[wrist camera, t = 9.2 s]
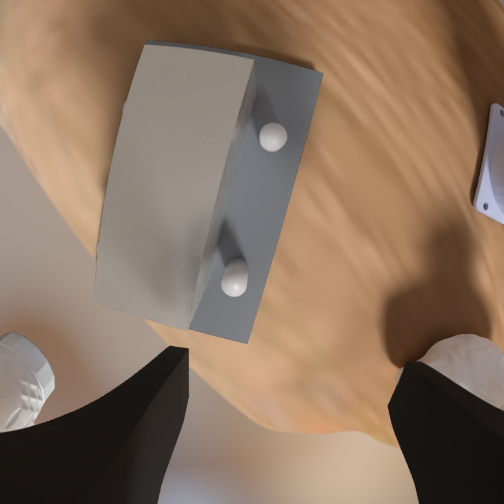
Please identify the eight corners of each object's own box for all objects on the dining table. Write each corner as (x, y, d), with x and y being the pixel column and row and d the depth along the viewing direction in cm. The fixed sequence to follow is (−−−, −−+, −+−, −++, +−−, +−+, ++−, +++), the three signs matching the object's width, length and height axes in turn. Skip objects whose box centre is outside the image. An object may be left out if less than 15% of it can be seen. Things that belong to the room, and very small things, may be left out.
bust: (477, 353, 22) (574, 329, 12) (464, 432, 19) (564, 432, 9) (383, 328, 21) (501, 288, 11) (362, 427, 18) (483, 449, 8)
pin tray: (319, 78, 15) (333, 58, 12) (247, 335, 19) (245, 367, 16) (152, 46, 15) (131, 24, 11) (101, 293, 19) (75, 316, 15)
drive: (256, 98, 15) (254, 59, 9) (210, 278, 17) (187, 331, 11) (182, 83, 14) (144, 44, 9) (143, 259, 17) (94, 301, 11)
